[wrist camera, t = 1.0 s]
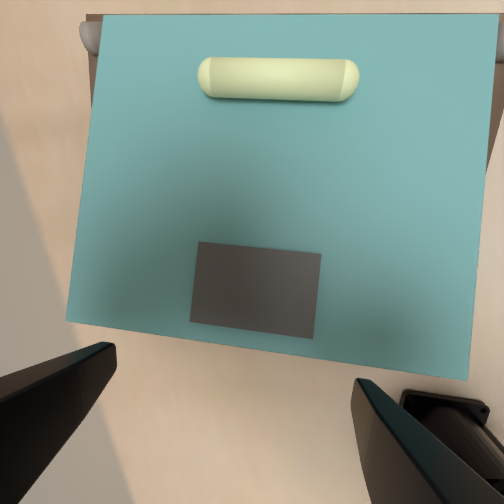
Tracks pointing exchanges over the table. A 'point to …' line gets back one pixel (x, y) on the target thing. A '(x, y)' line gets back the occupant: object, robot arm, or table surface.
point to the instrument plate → (289, 184)
